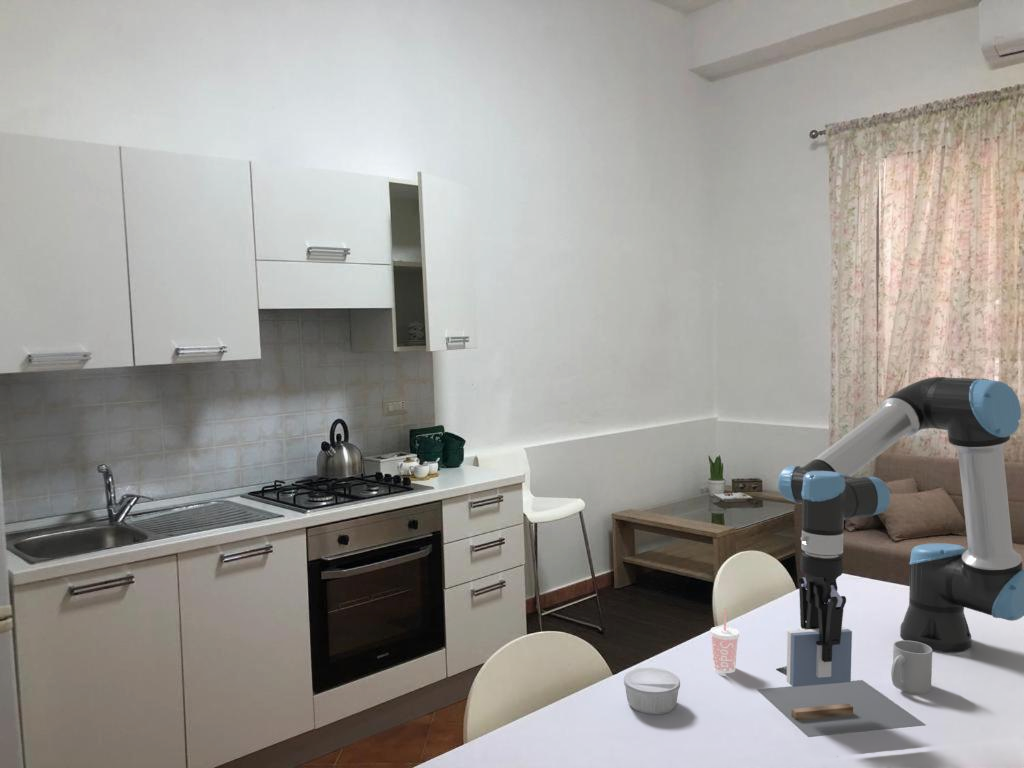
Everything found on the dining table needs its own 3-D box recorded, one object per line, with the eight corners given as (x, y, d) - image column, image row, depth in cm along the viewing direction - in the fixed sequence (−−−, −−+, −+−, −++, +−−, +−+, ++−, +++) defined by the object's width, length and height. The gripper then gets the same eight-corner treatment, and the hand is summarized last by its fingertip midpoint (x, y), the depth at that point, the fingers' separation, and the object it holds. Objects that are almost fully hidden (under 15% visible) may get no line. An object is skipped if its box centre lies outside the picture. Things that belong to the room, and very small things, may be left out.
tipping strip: (848, 711, 159) (848, 703, 159) (853, 714, 158) (853, 707, 158) (791, 716, 157) (791, 708, 157) (795, 720, 156) (795, 712, 156)
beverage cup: (706, 673, 178) (707, 610, 177) (713, 663, 184) (714, 602, 183) (735, 679, 175) (736, 615, 174) (741, 668, 181) (742, 606, 180)
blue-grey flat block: (843, 676, 161) (844, 626, 160) (850, 682, 158) (852, 631, 158) (786, 681, 159) (787, 630, 158) (793, 686, 156) (794, 635, 155)
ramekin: (645, 722, 156) (645, 695, 156) (612, 699, 166) (612, 674, 166) (691, 709, 162) (692, 683, 161) (656, 688, 172) (657, 663, 171)
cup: (938, 691, 169) (939, 649, 168) (909, 703, 164) (910, 659, 163) (905, 678, 175) (907, 637, 175) (876, 689, 170) (877, 647, 169)
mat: (862, 682, 173) (862, 679, 173) (926, 727, 154) (926, 724, 154) (756, 692, 169) (756, 689, 169) (808, 739, 149) (808, 736, 149)
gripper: (783, 543, 164) (780, 658, 165) (826, 565, 148) (823, 691, 150) (817, 541, 165) (815, 655, 167) (864, 563, 150) (860, 688, 151)
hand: (818, 672), depth 158 cm, fingers closed on blue-grey flat block, 2 cm apart
